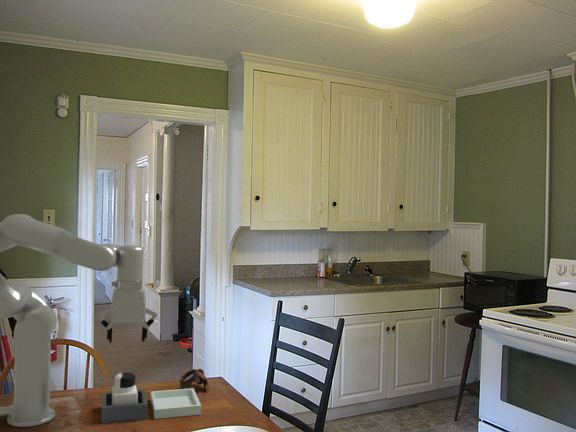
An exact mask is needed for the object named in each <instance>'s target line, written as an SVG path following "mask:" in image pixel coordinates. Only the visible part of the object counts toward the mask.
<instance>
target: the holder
mask: <svg viewBox="0 0 576 432" xmlns="http://www.w3.org/2000/svg"><path fill="white" fill-rule="evenodd" d="M146 391H147V390H146V389H137V393H138V401H137V404H126V405H115V406H112V391H111V392H108V391H107V392H102V394H101V395H102V396H101V398H102V399H101V413H100V414H101V416H100V418H101V419H100V420H101V421H100V422H101V424H109V423H120V422H121V423H122V422H130V421H131V422H132V421H140V420H148V412H149V411H148V408H149V406H148V405H149V404H148V398H147V393H146Z"/></svg>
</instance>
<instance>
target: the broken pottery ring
mask: <svg viewBox="0 0 576 432" xmlns="http://www.w3.org/2000/svg"><path fill="white" fill-rule="evenodd" d="M190 376H191V377H190ZM188 377H189V378H188ZM193 383H196V384H197V385H203V388H204V390H205V392H206V393H208V392H209V391H210V386H209V383H208V380H207V377H206V375H205V372H204V370H203V369H202V368H198V369H197V368H193V369H190V370H188V371H186V372H185V373H184V374H183V375H182V376H181V378H180V379H179V385H180V386H179V388H180V389H189V388H193Z"/></svg>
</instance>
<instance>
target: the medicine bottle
mask: <svg viewBox="0 0 576 432" xmlns="http://www.w3.org/2000/svg"><path fill="white" fill-rule="evenodd" d="M137 390H138V389H137V385H136V374H134V373H133V372H124V371H123V372H120V373H118V374H116V375H115V376H114V386H113V387H112V388H111V392H112V406H115V405H126V404H137V401H138V393H137Z"/></svg>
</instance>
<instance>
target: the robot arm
mask: <svg viewBox="0 0 576 432" xmlns="http://www.w3.org/2000/svg"><path fill="white" fill-rule="evenodd" d="M16 246H20V247H24V248H27V249H30V250H33V251H36V252H39V253H40V252H41V253H44V254H46V255H50V256H53V257H55V258H57V259H61V260H63V261H66V262H69V263H71V264H75V265H77V266H80V267H84V268H87V269H91V270H93V271H98V272H106V271H109V270H110V269H111V268H115V267H117V268H116V270H117V271H116V272H117V273H116V280H115V281H111V287H115V288H116V289H114V290H113V293H112V299H111V305H110V308H109V309H106V310H103V312H100V313H98V319H99V321H100V323H101V324H102V326H104V327H105V329H106V330H107V331H106V340H109V341H108V343H109V344H111V343H112V341H113V340H112V339H113V326H114V325H132V324H134V325H135V324H141V325H142V327H141V341H142V342H144V343H145V339H148V338H147V337H148V328H149V327H150V326H151V325H152V324H154V321H155V320H156V318H157V316H158V313H157V312H155V311H153V310H152V309H149V308H147V306H146V291H145V290H144V289H143V273H144V248H143V247H142V246H140V245H136V244H135V245H133V244H130V245H129V244H128V245H127V244H125V245H119V244H112V243H111V244H110V243H102V244H99V243H96V242H92V241H90V240H87V239H85V238H81V237H78V236H76V235H75V234H72V233H71V232H70V231H68V230H66V229H65V228H63V227H60V226H56V225H54V224H50V223H47V222H43V221H40V220H37V219H35V218H33V217H32V216H31V215H28V214H25V213H23V214H22V213H18V214H17V213H14V214H13V213H12V214H9V215H8V216H6V217H4V218H3V219H2V221H1V222H0V253H1V252H5V251H6V250H10V249H12V248H14V247H16ZM146 314H147V315H149V316H150V319H149V320H147V321H146ZM108 315H110V321H109V322H108V321H107V320H106V319H105V317H106V316H108ZM0 318H3V319H8V318H14V320H16V321H17V322H16V323H15V326H14V329H13V343H14V344H13V345H14V382H13V383H14V385H13V386H14V387H13V388H14V389H13V402H12V404H9V405H8V406H0V417H1V416H7V418H6V419H7V420H6V421H7V424H8V425H10V426H13V427H18V428H26V427H27V428H28V427H35V426H39V425H43V424H46V423H48V422H50V421H52V420H53V419H54V418H55V416H56V411H55V410H54V408H51V407H50V399H51V372H52V371H51V370H52V369H51V366H52V365H51V362H52V352H51V351H52V348H51V347H52V345H51V335H52V333H53V331H54V330H55V329H56V326H57V324H58V318H57V314H56V312H55V311H54V310H53V309H52V307H50V305H48V303H47V302H45V300H43V298H41V296H40V295H38V294H37V293H36V292H35V290H33V289H32V288H31V287H30V286H28V285H27V284H25V283H24V282H20V281H9V280H8V279H7V278H6V277H5V276H3V275H2V273H0Z"/></svg>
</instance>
